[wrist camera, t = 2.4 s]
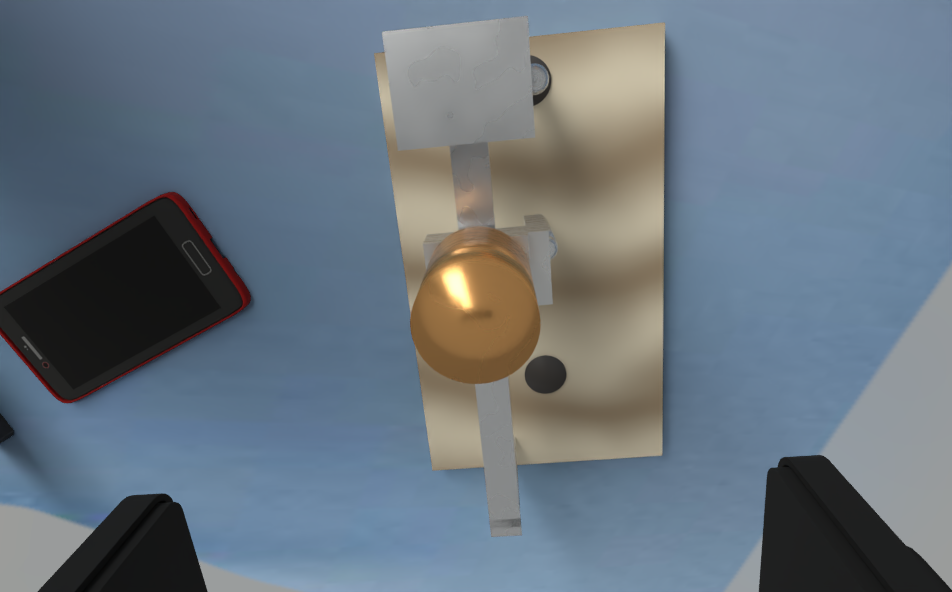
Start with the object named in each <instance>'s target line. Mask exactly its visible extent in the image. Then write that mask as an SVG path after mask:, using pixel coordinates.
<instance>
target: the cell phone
mask: <svg viewBox="0 0 952 592" xmlns="http://www.w3.org/2000/svg"><path fill="white" fill-rule="evenodd" d="M189 208H190V209H191V211H193V209H192V208H191V207H190V205H189V204H188V203H187V201H186V200H185V199H184V198H183V197H182V196H181V195H179V194H178V193H175V192H168V193H165V194H162V195H160V196H158V197H156V198H154V199H152V200H150V201H148V202H147V203H145V204H143V205H142V206H140V207H138V208H137V209H135V210H133V211H132V212H130V213H129V214H127V215H125V216H124V217H122V218H120V219H119V220H117V221H115V222H114V223H112V224H110V225H109V226H107V227H106V228H104V229H102V230H101V231H99V232H97V233H96V234H94V235H92V236H91V237H89V238H88V239H86V240H84V241H83V242H81V243H79V244H78V245H76V246H74V247H73V248H71V249H70V250H68V251H66V252H65V253H63V254H61V255H60V256H58V257H56V258H55V259H53V260H52V261H50V262H48V263H47V264H45V265H43V266H42V267H40V268H38V269H37V270H35V271H34V272H32V273H30V274H29V275H27V276H25V277H24V278H22V279H21V280H19V281H17V282H16V283H14V284H12V285H11V286H9V287H8V288H6V289H4V290H3V291H1V292H0V335H1V336H2V337H3V338H4V340H5V341H6V342H7V343H8V344H9V345H10V346H11V348H12V349H13V350H14V351H15V352H16V353H17V355H18V356H19V357H20V358H21V359H22V360H23V362H24V363H25V364H26V365H27V366H28V367H29V369H30V370H31V371H32V372H33V373H34V374H35V376H36V377H37V378H38V379H39V380H40V381H41V383H42V384H43V385H44V386H45V387H46V388H47V390H48V391H49V392H50V393H51V394H52V395H53V396H54V397H55V398H56V399H58V400H59V401H61V402H63V403H72V402H75V401H77V400H80V399H82V398H84V397H86V396H87V395H89V394H91V393H93V392H95V391H97V390H99V389H100V388H102V387H104V386H106V385H108V384H110V383H111V382H113V381H115V380H117V379H119V378H121V377H122V376H124V375H126V374H128V373H130V372H131V371H133V370H135V369H137V368H139V367H141V366H142V365H144V364H146V363H148V362H150V361H152V360H153V359H155V358H157V357H159V356H161V355H162V354H164V353H166V352H168V351H170V350H172V349H173V348H175V347H177V346H179V345H181V344H182V343H184V342H186V341H188V340H190V339H192V338H193V337H195V336H197V335H199V334H201V333H203V332H204V331H206V330H208V329H210V328H212V327H213V326H215V325H217V324H219V323H221V322H223V321H224V320H226V319H228V318H230V317H232V316H234V315H235V314H237V313H238V312H240V311H241V310H243V309H244V308H245V307H246V306H247V305H248V304H249V303H250V301H251V296H250V293H249V291H248V289H247V287H246V285H245V284H244V282H243V281H242V279H241V278H240V277H239V276H238V275H237V274H236V272H235V271H234V268H233V266H232V265H231V264H230V262H229V261H228V259H227V258H226V257H225V258H223V257H222V256H221V254H220V253H219V252H218V250H217V249H216V247H215V246H214V244H213V243H212V242H211V240H210V239H211V238H212V236H211V235H210V233H209V232H208V231H207V229H206V228H205V226H204V225H203V223H202V222H201V221H200V219H199V218H198V216H197V215H196V213H195V212H194V211H193V213H194V214H195V216H196V218H197V219H196V218H195V217H194V215H193V214H192V212H191V211H190V210H189ZM138 210H139V211H138ZM133 213H134V214H133ZM128 216H129V217H128ZM115 224H116V225H115ZM110 227H111V228H110ZM105 230H106V231H105ZM100 233H101V234H100ZM92 238H93V239H92ZM87 241H88V242H87ZM82 244H83V245H82ZM77 247H78V248H77ZM54 261H55V262H54ZM238 309H239V310H238ZM221 319H222V320H221ZM212 324H213V325H212ZM125 372H126V373H125ZM123 373H124V374H123ZM116 377H117V378H116ZM114 378H115V379H114ZM112 379H113V380H112ZM105 383H106V384H105ZM103 384H104V385H103ZM101 385H102V386H101Z"/></svg>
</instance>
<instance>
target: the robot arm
mask: <svg viewBox="0 0 952 592" xmlns="http://www.w3.org/2000/svg"><path fill="white" fill-rule="evenodd" d="M38 592H207V589H206V585H205V582H204V579H203V575H202V572H201V569H200V565H199V562H198V559H197V555H196V552H195V549H194V545H193V542H192V539H191V535H190V532H189V529H188V526H187V522H186V519H185V516H184V512H183V509H182V507H181V505H180V504H179V503H176V502H173V500H172V498H171V497H170V496H169V495H167V494H147V495H132V496H128V497H126V498H125V499H124V500H122V501H121V502H120V503H119V505H118V506H117V507H116V508H115V509H114V510H113V511H112V512H111V513H110V514H109V515H108V516H107V517H106V519H105V520H104V521H103V522H102V523H101V524H100V525H99V526H98V527H97V528H96V529H95V530H94V531H93V533H92V534H91V535H90V536H89V537H88V538H87V539H86V540H85V541H84V542H83V543H82V544H81V546H80V547H79V548H78V549H77V550H76V551H75V552H74V553H73V554H72V555H71V556H70V557H69V559H67V561H66V562H65V563H64V564H63V565H62V566H61V567H60V568H59V569H58V570H57V572H55V574H54V575H53V576H52V577H51V578H50V579H49V580H48V581H47V582H46V583H45V584H44V585H43V587H41V589H40V590H39V591H38ZM759 592H952V590H951V589H950V588H949V587H948V585H947V584H946V583H945V582H944V581H943V580H942V579H941V578H940V577H939V576H938V574H937V573H936V572H935V571H934V570H933V569H932V568H931V567H930V566H929V565H928V563H927V562H926V561H925V560H924V559H923V558H922V557H921V556H920V555H919V554H918V553H917V552H915V551H914V550H913V549H912V548H910V547H908V546H906V545H905V544H904V543H903V542H902V541H901V540H900V539H899V538H898V536H897V535H896V534H895V533H894V532H893V531H892V530H891V529H890V528H889V526H888V525H887V524H886V523H885V522H884V521H883V520H882V519H881V518H880V517H879V515H878V514H877V513H876V512H875V511H874V510H873V509H872V508H871V506H870V505H869V504H868V503H867V502H866V501H865V500H864V499H863V498H862V496H861V495H860V494H859V493H858V492H857V491H856V490H855V489H854V488H853V486H852V485H851V484H850V483H849V482H848V481H847V480H846V479H845V478H844V476H843V475H842V474H841V473H840V472H839V471H838V470H837V469H836V467H835V466H834V465H833V464H832V463H831V462H830V461H829V460H828V459H827V458H826V457H824V456H821V455H814V456H797V457H783V458H782V459H780V461H779V463H778V467H777V468H770V469H769V471H768V474H767V484H766V498H765V512H764V527H763V541H762V556H761V570H760V584H759Z"/></svg>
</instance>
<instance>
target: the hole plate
mask: <svg viewBox="0 0 952 592" xmlns="http://www.w3.org/2000/svg"><path fill="white" fill-rule="evenodd" d="M529 45H530V61H531V64H533V63H536V64H540V65H542V66H543V67H544V68H545V69H546V70H547V72H548V75H549V83H548V86H547V88H546V89H545V90H544V91H543V92H542V93H540V94H538V95H533V110H534V126H535V138H525V139H515V140H505V141H494V142H488V146H489V158H490V169H491V181H492V192H493V204H494V215H495V227H496V228H506V227H517V226H524V216H527V215H534V214H542V215H543V216H544V217H545V218H546V219H547V220H548V223H549V225H550V227H551V230H552V232H553V235H554V237H555V239H556V242H557V244H558V252H557V255H556V256H555V257H554V258H553V259H552V260H550V264H551V282H552V299H553V304H551V305H538V308H539V313H540V320H541V327H540V335H539V339H538V342H537V345H536V347H535V350H534V352H533V353H532V355H531V356H530V358H529V359H528V360H527V361H526V363H525V364H524V365H523V366H522V367H521V368H519V369H518V370H517V371H516V372H514V373H513V374H511V375H509V376H508V377H509V388H510V400H511V411H512V423H513V435H514V437H515V441H516V453H517V465H525V464H540V463H556V462H571V461H586V460H602V459H617V458H632V457H648V456H662V427H663V264H664V101H665V23H655V24H646V25H637V26H627V27H618V28H608V29H599V30H590V31H580V32H571V33H561V34H552V35H542V36H533V37H529ZM374 56H375V63H376V70H377V78H378V85H379V92H380V99H381V106H382V113H383V120H384V127H385V135H386V142H387V149H388V156H389V163H390V170H391V177H392V184H393V192H394V199H395V206H396V213H397V220H398V227H399V234H400V242H401V249H402V256H403V263H404V270H405V277H406V284H407V291H408V299H409V306H410V313H411V311H412V307H413V304H414V301H415V299H416V296H417V293H418V291H419V288H420V285H421V283H422V280H423V277H424V275H425V272H426V265H425V257H424V249H423V243H424V240H425V238H426V236H427V234H438V233H449V232H456V231H458V221H457V212H456V203H455V194H454V184H453V175H452V166H451V156H450V147H449V146H442V147H432V148H422V149H411V150H401V151H398V147H397V140H396V132H395V125H394V118H393V110H392V103H391V95H390V88H389V81H388V73H387V66H386V58H385V52H382V53H374ZM415 348H416V347H415ZM416 356H417V363H418V370H419V377H420V384H421V391H422V398H423V405H424V413H425V420H426V427H427V434H428V441H429V448H430V455H431V463H432V470H448V469H464V468H479V467H484V464H483V454H482V445H481V436H480V426H479V417H478V408H477V398H476V389H475V384H468V383H462V382H458V381H454V380H452V379H449V378H447V377H445V376H443V375H441V374H439V373H438V372H436V371H435V370H434V369H433V368H431V367H430V366H429V365H428V364H427V363H426V362H425V361H424V360H423V358H422V357H421V355H420V354H419V352H418V350H417V348H416Z"/></svg>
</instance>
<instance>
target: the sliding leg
mask: <svg viewBox="0 0 952 592" xmlns="http://www.w3.org/2000/svg"><path fill="white" fill-rule="evenodd" d="M423 249H424V257H425V265H426V272H425V275H424V277H423V280H422V283H421V285H420V288H419V291H418V293H417V296H416V299H415V301H414V304H413V307H412V311H411V319H410V327H411V334H412V339H413V341H414V344H415V347H416V348H417V350H418V352H419V354H420V355H421V357H422V358H423V360H424V361H425V362H426V363H427V364H428V365H429V366H430V367H431V368H433V369H434V370H435V371H436V372H438V373H439V374H441V375H443V376H445V377H447V378H449V379H452V380H454V381H458V382H462V383H468V384H484V383H491V382H494V381H498V380H501V379H503V378H506V377H507V376H509V375H511V374H513V373H514V372H516V371H517V370H518V369H519V368H521V367H522V366H523V365H524V364H525V363H526V361H527V360H528V359H529V358H530V356H531V355H532V353H533V352H534V350H535V347H536V345H537V342H538V339H539V335H540V327H541V320H540V313H539V308H538V305H551V304H553V299H552V282H551V264H550V260H552V259H553V258H554V257H555V256H556V255H557V252H558V244H557V242H556V239H555V237H554V235H553V232H552V230H551V227H550V225H549V223H548V220H547V219H546V218H545V217H544V216H543V215H542V214H534V215H527V216H524V226H517V227H506V228H495V229H494V228H490V227H482V226H475V227H468V228H464V229H460V230H458V231H456V232H449V233H438V234H427V236H426V238H425V240H424V243H423Z"/></svg>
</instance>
